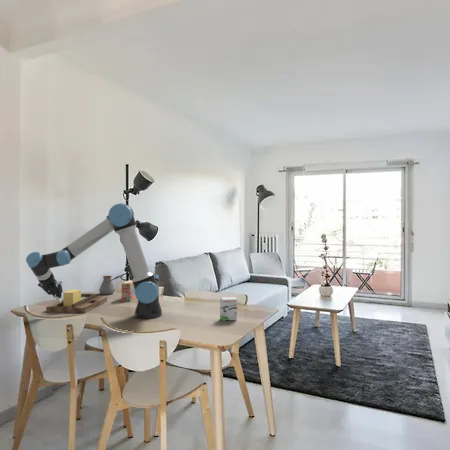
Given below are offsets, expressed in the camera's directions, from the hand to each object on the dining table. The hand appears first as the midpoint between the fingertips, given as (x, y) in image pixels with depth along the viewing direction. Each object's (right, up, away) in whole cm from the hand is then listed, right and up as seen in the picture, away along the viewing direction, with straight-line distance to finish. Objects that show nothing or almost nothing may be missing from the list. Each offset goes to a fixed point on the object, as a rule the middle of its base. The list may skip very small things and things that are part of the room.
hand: (60, 300), depth 219 cm
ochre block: (+2, -5, +13) cm, 14 cm away
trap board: (+2, -8, +21) cm, 22 cm away
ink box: (+96, -9, -11) cm, 97 cm away
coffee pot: (+12, -8, +59) cm, 61 cm away
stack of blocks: (+30, -8, +46) cm, 56 cm away
